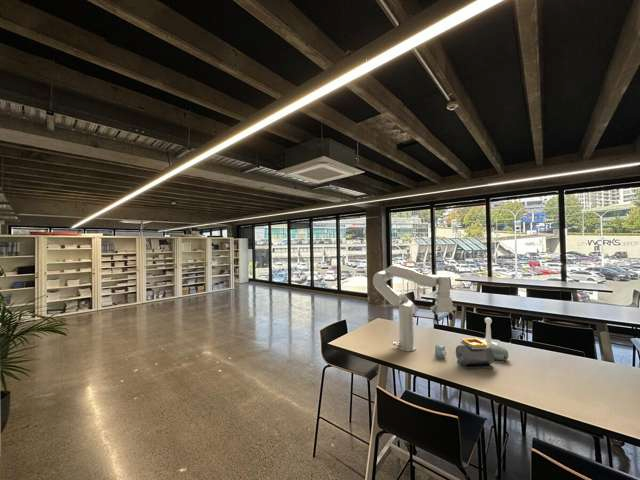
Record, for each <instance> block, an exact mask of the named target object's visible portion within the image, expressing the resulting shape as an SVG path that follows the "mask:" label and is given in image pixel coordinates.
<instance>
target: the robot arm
mask: <svg viewBox="0 0 640 480" xmlns="http://www.w3.org/2000/svg"><path fill="white" fill-rule="evenodd" d="M393 278H400V279H403V280H407V281H410V282H412V283H415V284H418V285H420V286H424V287H428V288H432V287H435V286H437V291H436V292H435V295H436V296H435V297H436V298H435V302H434V305H431V306H430V310H431V312H432V314H433V315H434V316H433V317H434V320H435V321H439V315H438V313H448V319H449V321H453V317H454V314H455V313H456V311H457V309H458V308H457V307H456V306H454V305H453V299H452V297H451V278H450V276H447V275H437V274H429V275H428V274H425V273H421V272H418V271H417V270H415V269H413V268H410V267H407V266H403V265H401V264H399V263H393V264H390V265H389V267H387V268H384V269H382V270H379V271H377V272H376V273H375V274H374V275H373V277H372V285H373V286H374V288H375V290H376V291H377V292H378V293H379V294H380V295H382V297H383V298H384V299H385V300H386V301H387V302H388V303H389V304H390V305H392V306H398V320H399V321H398V322H399V323H398V326H399V331H398V332H399V333H398V335H399V339H398V341H396V342H395V341H394V342H392V345H393V346H396V347H397V348H398V349H399V350H400V351H404V352H413V351H416V350H417V347H416V345H414V341H415V340H414V317H413V316H414V313H415V311H416V306H415V303H414V302H412V301H411V299H409V298H408V297H407V296H406V295H405V294H404V293H403V292H402V291H399V290H394V289H393V288H391V286H390V285H388V284H387V283H386V282H387V281H389V280H391V279H393Z"/></svg>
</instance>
